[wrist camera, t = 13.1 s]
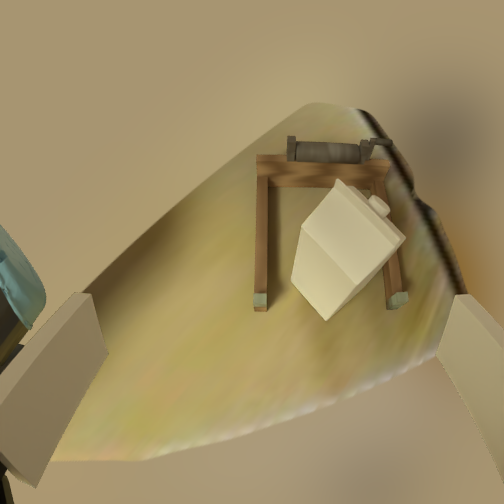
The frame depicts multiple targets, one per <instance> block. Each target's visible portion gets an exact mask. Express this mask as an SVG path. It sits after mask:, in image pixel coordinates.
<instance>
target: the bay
mask: <svg viewBox="0 0 504 504" xmlns="http://www.w3.org/2000/svg"><path fill="white" fill-rule="evenodd" d="M392 144H393V141H392V140H390V139H380V138H371V139H370V142H369V141H368V140H361V142H360V145H359V146H358V145H357V144H345V143H327V142H301V141H296V137H295V136H288V138H287V154H286V155H257V158H256V163H257V207H256V247H255V285H254V300H253V304H254V310H255V311H263V312H267V236H268V187H319V188H333V187H334V185H335V181H336V179H339V180H341V181H342V182H343V183H344V184H345V185H346V186H354V187H355V188H356V189H368V190H370V192H371V196H372V195H375V196H377V197H379V198H380V199H382V200H383V201H384V202H385V203H386V204H387V205H388V207H389V204H388V199H387V195H386V190H385V186H384V178H385V176H386V174H387V172H388V170H389V168H390V164H389V161H388V160H380V159H370V156H371V154H372V151H373V148H374V145H383V146H392ZM386 217H387V218H388V219H389V220H390V221H391V222H392V219H391V214H390V213H389V214H388V215H387V216H386ZM382 267H383V276H384V284H385V294H386V305H387V310H390V309H398V308H399V307H401V306H402V305H404V304H405V303H407V302H408V301H409V300H408V292H403V291H402V282H401V275H400V267H399V260H398V254H397V250H396V251H395V252H394V254H393V255H392V256H391V257H390V258H389V259H388V261H387V262H386V263H385V264H384V265H383V266H382Z"/></svg>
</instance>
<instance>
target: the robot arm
mask: <svg viewBox="0 0 504 504" xmlns="http://www.w3.org/2000/svg"><path fill="white" fill-rule="evenodd" d="M45 303H46V293H45V289H44V286H43V284H42V282H41V280H40V278H39V276H38V275H37V273H36V271H35V270H34V268H33V267H32V265H31V264H30V262H29V261H28V259H27V258H26V256H25V255H24V254H23V252H22V251H21V249H20V248H19V247H18V245H17V244H16V243H15V242H14V240H13V239H12V238H11V237H10V235H9V234H8V233H7V232H6V231H5V229H4V228H3V227H2V226H1V225H0V504H14V502H13V497H12V494H11V489H10V484H9V481H8V478H7V476H5V472H6V470H7V469H8V470H9V471H10V472H11V473H12V474H13V475H14V476H15V477H16V478H17V479H18V480H20V481H22V482H24V483H26V484H28V485H30V486H32V487H34V488H36V487H37V485H38V483H39V481H40V479H41V477H42V475H43V473H44V471H45V469H46V467H47V464H48V462H49V460H50V458H51V456H52V455H53V453H54V451H55V449H56V447H57V445H58V443H59V441H60V439H61V437H62V435H63V433H64V431H65V429H66V428H67V426H68V424H69V422H70V420H71V418H72V416H73V415H74V413H75V411H76V409H77V407H78V406H79V404H80V402H81V400H82V398H83V397H84V395H85V393H86V391H87V390H88V388H89V386H90V384H91V383H92V381H93V379H94V377H95V376H96V374H97V372H98V371H99V369H100V367H101V365H102V364H103V362H104V360H105V359H106V357H107V355H108V351H107V348H106V344H105V341H104V338H103V335H102V331H101V328H100V325H99V321H98V318H97V314H96V310H95V307H94V303H93V299H92V295H91V294H88V293H74V294H73V295H72V296H71V297H70V298H69V299H68V300H67V301H66V302H65V303H64V304H63V305H62V306H61V307H60V308H59V309H58V310H57V311H56V312H55V313H54V314H53V315H52V317H51V318H50V319H49V320H48V321H47V322H46V323H45V324H44V325H43V326H42V327H41V328H40V329H39V331H38V332H37V333H36V334H35V335H34V336H33V337H32V338H31V339H30V341H29V342H28V343H27V344H26V345H25V346H24V345H21V344H18V343H19V342H20V341H21V339H22V338H23V337H24V335H25V334H26V333H27V332H28V330H31V329H32V326H33V325H32V324H33V323H34V321H35V320H36V318H37V317H38V315H39V314H40V312H41V311H42V310H43V308H44V306H45ZM436 356H437V357H438V359H439V360H440V362H441V364H442V366H443V367H444V369H445V371H446V372H447V374H448V376H449V377H450V379H451V381H452V383H453V384H454V386H455V388H456V389H457V391H458V393H459V395H460V397H461V398H462V400H463V402H464V404H465V406H466V407H467V409H468V411H469V413H470V415H471V417H472V419H473V420H474V422H475V424H476V426H477V428H478V430H479V432H480V434H481V436H482V438H483V440H484V442H485V444H486V446H487V448H488V450H489V452H490V454H491V456H492V458H493V461H494V462H495V465H496V467H497V469H498V471H499V474H500V476H501V478H502V480H503V483H504V329H503V328H502V327H501V326H500V325H499V324H498V323H497V321H496V320H495V319H494V318H493V317H492V316H491V315H490V314H489V313H488V312H487V311H486V310H485V309H484V308H483V307H482V306H481V305H480V304H479V303H478V302H477V301H476V300H475V299H474V298H473V296H472V295H471V294H465V295H455V297H454V301H453V304H452V308H451V311H450V314H449V317H448V320H447V323H446V326H445V329H444V332H443V335H442V338H441V341H440V344H439V346H438V349H437V352H436Z"/></svg>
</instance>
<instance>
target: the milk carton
mask: <svg viewBox="0 0 504 504" xmlns="http://www.w3.org/2000/svg"><path fill="white" fill-rule="evenodd" d="M389 213H390V208H389V207H388V205H387V204H386V203H385V202H384V201H383V200H382V199H380V198H379V197H377V196H375V195H372V196H371V197H370V198H369V200H368V199H367V198H366V197H365V196H364V195H363V194H362V193H361V192H360V191H359V190H357V189H356V188H355V187H354V186H346V185H345V184H344V183H343V182H342V181H341V180H339V179H336V181H335V185H334V187H333V188H332V189H331V191H330V192H329V193H328V194H327V195H326V197H325V198H324V199H323V200H322V201H321V203H320V204H319V205H318V206H317V207H316V209H315V210H314V211H313V212H312V213H311V214H310V216H309V217H308V218H307V219H306V220H305V222H304V223H303V224H302V225H301V231H300V236H299V241H298V246H297V251H296V256H295V261H294V266H293V271H292V276H291V282H292V283H293V284H294V285H295V287H296V288H297V289H298V290H299V291H300V292H301V293H302V295H303V296H304V297H305V298H306V299H307V300H308V301H309V303H310V304H311V305H312V306H313V307H314V308H315V309H316V311H317V312H318V313H319V314H320V315H321V316H322V317H323V319H324V320H326V321H327V320H328V319H329V318H331V317H332V316H333V315H334V314H335V313H336V312H337V311H338V310H340V309H341V308H342V307H343V306H344V305H345V304H346V303H347V302H349V301H350V300H351V299H352V298H353V297H354V296H355V295H356V294H357V293H358V292H359V291H361V290H362V289H363V288H364V287H365V286H366V285H367V283H368V282H369V281H370V280H371V279H372V278H373V277H374V276H375V274H376V273H377V272H378V271H379V270H380V269H381V268H382V266H383V265H384V264H385V263H386V262H387V261H388V259H389V258H390V257H391V256H392V255H393V254H394V252H395V251H396V250H397V249H398V248H399V246H400V245H401V244H402V243H403V242H404V240H405V239H406V237H405V236H404V235H403V234H402V233H401V232H400V231H399V230H398V229H397V228H396V226H395V225H394V224H393V223H392V222H391V221H390V220H389V219H388V218H387V217H386V216H387V215H388V214H389Z"/></svg>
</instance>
